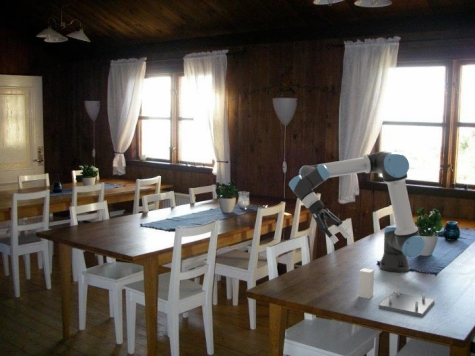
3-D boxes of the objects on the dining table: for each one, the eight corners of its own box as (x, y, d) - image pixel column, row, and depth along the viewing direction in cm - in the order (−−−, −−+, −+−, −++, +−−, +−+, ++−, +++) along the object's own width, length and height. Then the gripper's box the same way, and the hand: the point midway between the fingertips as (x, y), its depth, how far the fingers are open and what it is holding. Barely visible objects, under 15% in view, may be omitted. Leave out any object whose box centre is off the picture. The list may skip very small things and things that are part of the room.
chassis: (393, 295, 245) (393, 285, 245) (434, 302, 235) (434, 292, 235) (378, 308, 229) (379, 298, 228) (422, 317, 219) (422, 306, 218)
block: (362, 293, 247) (363, 268, 246) (373, 295, 245) (374, 269, 243) (358, 296, 243) (359, 270, 242) (369, 298, 241) (370, 272, 239)
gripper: (319, 205, 268) (346, 239, 261) (296, 212, 247) (325, 249, 241) (329, 195, 264) (357, 229, 258) (307, 202, 244) (337, 239, 237)
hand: (342, 239), depth 249 cm, fingers open, 13 cm apart
